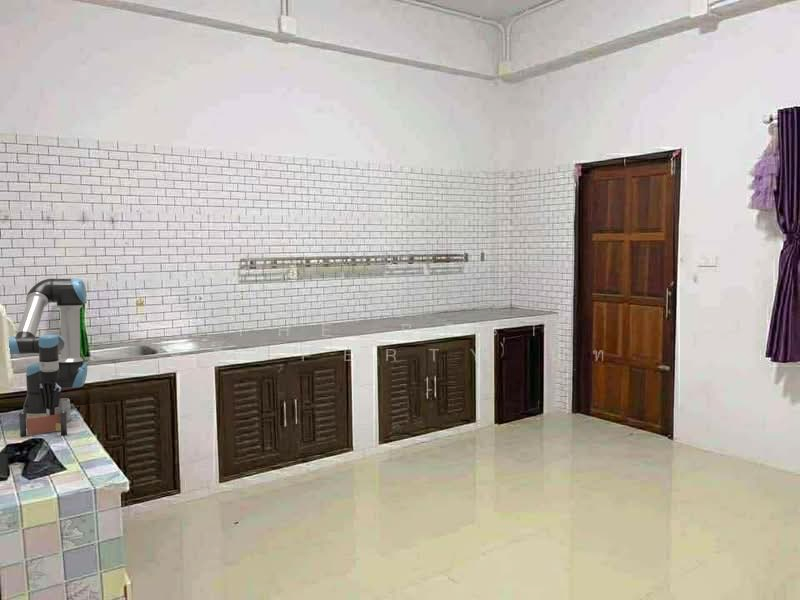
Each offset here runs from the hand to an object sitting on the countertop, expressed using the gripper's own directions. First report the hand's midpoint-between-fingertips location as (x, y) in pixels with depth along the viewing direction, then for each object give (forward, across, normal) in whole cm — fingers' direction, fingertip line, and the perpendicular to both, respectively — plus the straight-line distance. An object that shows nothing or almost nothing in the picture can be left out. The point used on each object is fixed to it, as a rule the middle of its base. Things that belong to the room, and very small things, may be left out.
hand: (50, 422), depth 289 cm
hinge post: (+4, -4, -10) cm, 12 cm away
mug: (+4, -7, +12) cm, 15 cm away
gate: (+3, +1, -4) cm, 5 cm away
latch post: (+4, +10, -2) cm, 11 cm away
